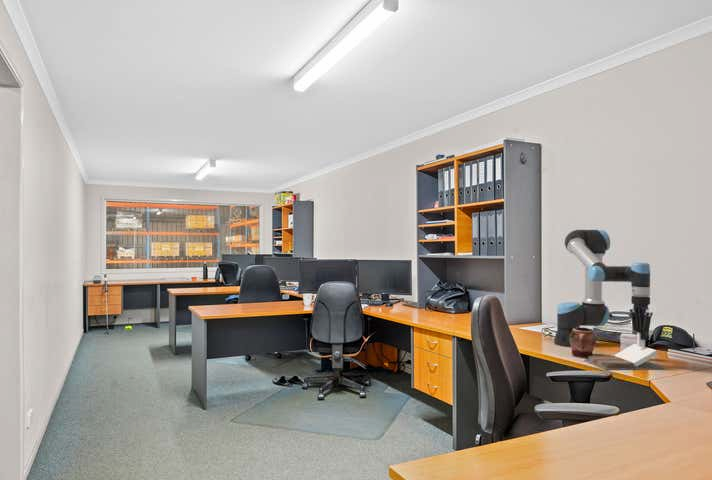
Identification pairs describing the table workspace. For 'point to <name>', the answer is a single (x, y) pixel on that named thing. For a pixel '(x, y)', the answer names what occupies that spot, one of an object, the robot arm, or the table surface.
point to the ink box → (628, 340)
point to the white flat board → (636, 354)
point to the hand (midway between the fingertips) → (641, 346)
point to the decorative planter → (582, 342)
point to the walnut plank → (610, 362)
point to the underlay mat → (640, 367)
